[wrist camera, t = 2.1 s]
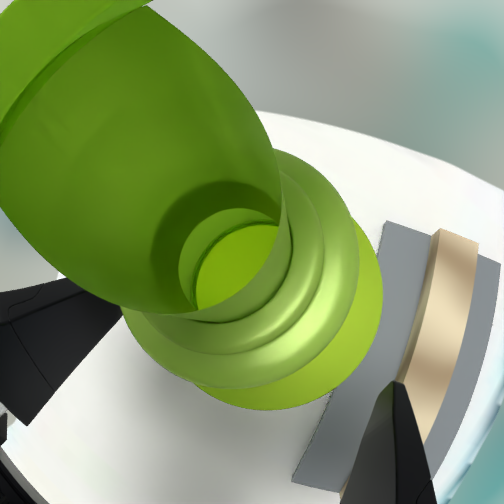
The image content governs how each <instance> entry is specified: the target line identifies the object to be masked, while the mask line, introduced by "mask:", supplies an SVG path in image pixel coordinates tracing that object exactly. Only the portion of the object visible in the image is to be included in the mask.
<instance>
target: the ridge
mask: <svg viewBox="0 0 504 504" xmlns="http://www.w3.org/2000/svg"><path fill="white" fill-rule="evenodd" d="M478 244H479V243H476V242H474V241H472V240H469V239H467V238H464V237H462V236H459V235H457V234H454V233H452V232H449V231H447V230H444V229H441V228H440V229H439V230H438V231H437V232H435V233H434V234H433V235H432V236H431V242H430V249H429V255H428V260H427V266H426V271H425V276H424V281H423V286H422V290H421V295H420V299H419V303H418V307H417V311H416V315H415V319H414V322H413V326H412V330H411V333H410V336H409V340H408V343H407V346H406V349H405V353H404V356H403V359H402V362H401V364H400V367H399V370H398V373H397V376H396V378H395V380H396V381H399V382H402V383H403V384H404V385H405V387H406V390H407V393H408V396H409V399H410V402H411V405H412V408H413V411H414V415H415V418H416V421H417V425H418V428H419V431H420V435H421V438H422V442H423V445H424V443H425V441H426V439H427V436H428V434H429V432H430V430H431V428H432V426H433V423H434V421H435V419H436V416H437V414H438V412H439V409H440V407H441V404H442V402H443V399H444V397H445V394H446V391H447V388H448V386H449V383H450V380H451V377H452V374H453V371H454V368H455V365H456V361H457V358H458V355H459V351H460V347H461V344H462V340H463V336H464V332H465V328H466V323H467V319H468V314H469V309H470V304H471V299H472V293H473V287H474V280H475V273H476V265H477V256H478ZM349 477H350V476H349ZM348 480H349V478H348ZM348 480H347V481H346V483H345V485H344V486H343V488H342V489H341V491H340V493H339V494H340V499H342V496H343V494H344V491H345V488H346V486H347V483H348Z"/></svg>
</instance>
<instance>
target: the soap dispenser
mask: <svg viewBox="0 0 504 504" xmlns="http://www.w3.org/2000/svg"><path fill="white" fill-rule="evenodd" d="M151 1H153V0H14V1H13V2H12V3H11V4H10V5H9V6H8V7H7V8H6V9H5V10H4V11H3V12H2V13H1V14H0V207H1V209H2V210H3V211H4V213H5V214H6V216H7V217H8V218H9V219H10V221H11V222H12V223H13V225H14V226H15V227H16V228H17V230H18V231H19V232H20V233H21V234H22V235H23V237H24V238H25V239H26V240H27V241H28V242H29V243H30V244H31V246H32V247H33V248H34V249H35V250H36V251H37V252H38V253H39V254H40V255H41V256H42V257H43V258H44V259H45V260H46V261H48V262H49V263H50V264H51V265H52V266H53V267H55V268H56V269H57V270H58V271H59V272H60V273H62V274H63V275H64V276H66V277H67V278H68V279H70V280H71V281H72V282H74V283H75V284H77V285H78V286H80V287H82V288H83V289H85V290H87V291H88V292H90V293H92V294H94V295H96V296H98V297H100V298H102V299H104V300H106V301H108V302H111V303H113V304H116V305H119V306H120V307H121V310H122V313H123V316H124V318H125V321H126V323H127V325H128V327H129V329H130V331H131V333H132V334H133V336H134V337H135V339H136V340H137V342H138V343H139V344H140V346H141V347H142V348H143V349H144V350H145V352H146V353H147V354H148V355H149V356H150V357H151V358H152V359H153V360H155V361H156V362H157V363H158V364H159V365H161V366H162V367H163V368H165V369H166V370H168V371H169V372H171V373H173V374H174V375H176V376H178V377H180V378H182V379H185V380H187V381H190V382H192V383H194V384H195V385H196V386H197V387H199V388H200V389H201V390H203V391H204V392H206V393H207V394H209V395H211V396H212V397H214V398H216V399H218V400H220V401H223V402H225V403H228V404H231V405H234V406H237V407H241V408H246V409H253V410H281V409H287V408H292V407H296V406H300V405H303V404H306V403H309V402H311V401H314V400H316V399H318V398H320V397H322V396H324V395H325V394H327V393H329V392H330V391H332V390H333V389H335V388H336V387H337V386H339V385H340V384H341V383H342V382H343V381H344V380H346V379H347V378H348V377H349V376H350V375H351V374H352V373H353V371H354V370H355V369H356V368H357V367H358V365H359V364H360V363H361V361H362V360H363V359H364V357H365V355H366V354H367V352H368V350H369V348H370V347H371V345H372V342H373V340H374V338H375V335H376V332H377V330H378V326H379V322H380V318H381V313H382V305H383V285H382V277H381V271H380V267H379V263H378V260H377V257H376V254H375V252H374V250H373V247H372V245H371V243H370V241H369V240H368V238H367V236H366V235H365V233H364V232H363V230H362V229H361V227H360V226H359V225H358V224H357V222H356V221H355V220H354V219H353V218H352V217H351V215H350V213H349V211H348V209H347V207H346V205H345V203H344V201H343V199H342V198H341V196H340V195H339V193H338V192H337V191H336V189H335V188H334V187H333V185H332V184H331V183H330V182H329V181H328V180H327V179H326V178H325V177H324V176H323V175H322V174H321V173H320V172H319V171H317V170H316V169H315V168H314V167H312V166H311V165H309V164H308V163H306V162H305V161H303V160H301V159H299V158H297V157H296V156H293V155H291V154H289V153H286V152H284V151H281V150H277V149H274V148H272V145H271V142H270V140H269V137H268V135H267V133H266V131H265V129H264V127H263V125H262V123H261V121H260V119H259V117H258V115H257V114H256V112H255V110H254V109H253V107H252V106H251V104H250V103H249V101H248V100H247V98H246V97H245V96H244V94H243V93H242V92H241V90H240V89H239V88H238V86H237V85H236V84H235V83H234V81H233V80H232V79H231V78H230V77H229V76H228V74H227V73H226V72H224V70H223V69H222V68H221V67H220V66H219V65H218V64H217V63H216V62H215V61H214V60H213V59H212V58H211V57H210V56H209V55H208V54H207V53H206V52H205V51H204V50H202V49H201V48H200V47H199V46H198V45H197V44H196V43H195V42H193V41H192V40H191V39H190V38H189V37H187V36H186V35H184V33H182V32H181V31H180V30H178V29H177V28H176V27H175V26H174V25H172V24H171V23H170V22H168V21H167V20H166V19H164V18H163V17H162V16H160V15H159V14H158V13H156V12H155V11H154V10H152V9H151V8H150V7H148V6H147V5H146V6H143V5H145V4H147V3H149V2H151ZM142 6H143V7H142Z"/></svg>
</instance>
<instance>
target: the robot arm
mask: <svg viewBox="0 0 504 504" xmlns="http://www.w3.org/2000/svg"><path fill="white" fill-rule="evenodd" d="M122 315H123V313H122V310H121V307H120V306H119V305H116V304H113V303H111V302H108V301H106V300H104V299H102V298H100V297H98V296H96V295H94V294H92V293H90V292H88V291H87V290H85V289H83V288H82V287H80V286H78V285H77V284H75V283H74V282H72V281H71V280H70V279H68V278H63V279H59V280H55V281H51V282H48V283H45V284H44V283H43V284H39V285H35V286H31V287H27V288H22V289H17V290H12V291H6V292H0V504H49V503H48V502H47V501H46V500H45V499H44V498H43V497H42V496H41V495H40V494H39V493H38V492H37V491H36V489H35V488H34V487H33V486H32V485H31V484H30V483H29V482H28V481H27V479H26V478H25V477H24V476H23V475H22V473H21V472H20V471H19V470H18V469H17V467H16V466H15V465H14V464H13V462H12V461H11V460H10V458H9V457H8V456H7V454H6V453H5V452H4V450H3V449H2V448H1V445H2V444H3V443H4V442H5V441H6V440H7V413H6V411H7V410H9V411H10V412H11V413H12V414H13V415H14V416H15V417H16V418H18V419H19V420H20V421H21V422H22V423H23V424H24V425H26V426H28V425H29V424H30V423H31V422H32V420H33V419H34V418H35V417H36V415H37V414H38V413H39V412H40V410H41V409H42V408H43V407H44V405H45V404H46V403H47V402H48V401H49V399H50V398H51V397H52V396H53V394H54V393H55V392H56V391H57V390H58V388H59V387H60V386H61V385H62V384H63V382H64V381H65V380H66V379H67V378H68V377H69V375H70V374H71V373H72V372H73V371H74V370H75V368H76V367H77V366H78V365H79V364H80V363H81V362H82V360H83V359H84V358H85V357H86V356H87V355H88V354H89V352H90V351H91V350H92V349H93V348H94V347H95V346H96V345H97V344H98V342H99V341H100V340H101V339H102V338H103V337H104V336H105V335H106V334H107V332H108V331H109V330H110V329H111V328H112V327H113V326H114V325H115V324H116V323H117V322H118V320H119V319H120V318H121V317H122ZM340 504H437V501H436V496H435V492H434V487H433V483H432V480H431V474H430V470H429V466H428V461H427V457H426V453H425V450H424V446H423V442H422V438H421V435H420V431H419V428H418V425H417V421H416V418H415V415H414V411H413V408H412V405H411V402H410V399H409V396H408V393H407V390H406V387H405V385H404V384H403V383H402V382H399V381H396V380H393V381H391V382H390V383H389V384H388V385H387V386H386V387H385V388H384V389H383V390H382V391H381V392H380V393H379V395H378V397H377V399H376V402H375V405H374V408H373V410H372V413H371V416H370V419H369V421H368V424H367V426H366V429H365V431H364V434H363V437H362V439H361V443H360V446H359V449H358V452H357V456H356V459H355V462H354V465H353V468H352V471H351V474H350V477H349V480H348V483H347V486H346V488H345V491H344V494H343V496H342V499H341V501H340Z"/></svg>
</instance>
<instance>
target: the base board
mask: <svg viewBox="0 0 504 504" xmlns="http://www.w3.org/2000/svg"><path fill="white" fill-rule="evenodd" d="M430 242H431V236H430V235H427V234H425V233H422V232H419V231H416V230H413V229H411V228H408V227H405V226H402V225H399V224H396V223H393V222H390V221H386V222H385V224H384V227H383V232H382V236H381V241H380V245H379V249H378V254H377V260H378V263H379V267H380V271H381V277H382V285H383V305H382V313H381V318H380V322H379V326H378V330H377V332H376V335H375V338H374V340H373V342H372V345H371V347H370V348H369V350H368V352H367V354H366V355H365V357H364V359H363V360H362V361H361V363H360V364H359V365H358V367H357V368H356V369H355V370H354V371H353V373H352V374H351V375H350V376H349V377H348V378H347V379H346V380H344V381H343V382H342V383H341V384H340V385H339V386H337V387H336V388H335V389H334V391H333V393H332V396H331V398H330V400H329V403H328V405H327V407H326V410H325V412H324V414H323V416H322V419H321V421H320V423H319V425H318V427H317V430H316V432H315V434H314V436H313V438H312V440H311V442H310V444H309V446H308V448H307V450H306V452H305V454H304V456H303V458H302V460H301V462H300V464H299V466H298V467H297V469H296V471H295V473H294V475H293V477H292V482H294V483H298V484H302V485H306V486H310V487H314V488H318V489H323V490H327V491H332V492H337V493H340V491H341V489H342V488H343V486H344V485H345V483H346V481H347V480H348V478H349V476H350V474H351V471H352V468H353V465H354V462H355V459H356V456H357V452H358V449H359V446H360V443H361V439H362V437H363V434H364V431H365V429H366V426H367V424H368V421H369V419H370V416H371V413H372V410H373V408H374V405H375V402H376V399H377V397H378V395H379V393H380V392H381V391H382V390H383V389H384V388H385V387H386V386H387V385H388V384H389V383H390V382H391V381H393V380H395V378H396V376H397V373H398V370H399V367H400V364H401V362H402V359H403V356H404V353H405V349H406V346H407V343H408V340H409V336H410V333H411V330H412V326H413V322H414V319H415V315H416V311H417V307H418V303H419V299H420V295H421V290H422V286H423V281H424V276H425V271H426V266H427V260H428V255H429V249H430ZM500 267H501V264H500V263H498V262H496V261H493V260H491V259H489V258H486V257H484V256H481V255H479V254H478V256H477V265H476V273H475V280H474V287H473V293H472V299H471V304H470V309H469V314H468V319H467V323H466V328H465V332H464V336H463V340H462V344H461V347H460V351H459V355H458V358H457V361H456V365H455V368H454V371H453V374H452V377H451V380H450V383H449V386H448V388H447V391H446V394H445V397H444V399H443V402H442V404H441V407H440V409H439V412H438V414H437V416H436V419H435V421H434V423H433V426H432V428H431V430H430V432H429V434H428V436H427V439H426V441H425V443H424V445H423V446H424V450H425V453H426V457H427V461H428V466H429V470H430V474H431V480H433V478H434V476H435V474H436V473H437V471H438V469H439V467H440V466H441V464H442V462H443V460H444V458H445V456H446V454H447V452H448V451H449V449H450V447H451V444H452V442H453V440H454V438H455V436H456V434H457V432H458V430H459V427H460V425H461V423H462V420H463V418H464V416H465V413H466V411H467V408H468V406H469V403H470V400H471V398H472V395H473V392H474V389H475V386H476V383H477V380H478V377H479V374H480V371H481V367H482V364H483V360H484V357H485V353H486V349H487V345H488V341H489V337H490V332H491V328H492V323H493V317H494V312H495V306H496V300H497V293H498V286H499V277H500Z"/></svg>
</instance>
